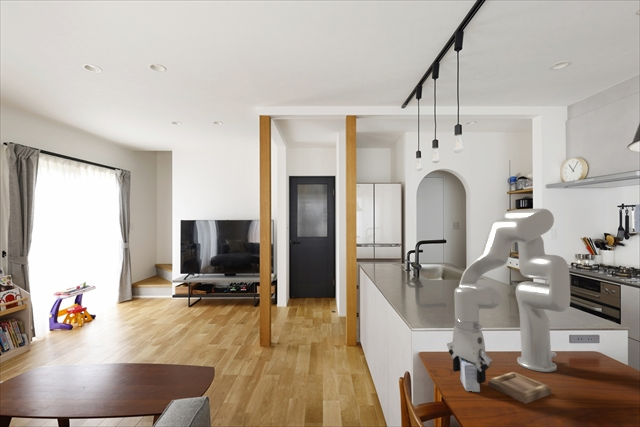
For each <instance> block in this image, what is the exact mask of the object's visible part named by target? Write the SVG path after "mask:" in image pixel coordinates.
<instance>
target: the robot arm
mask: <svg viewBox="0 0 640 427" xmlns="http://www.w3.org/2000/svg"><path fill="white" fill-rule="evenodd" d="M554 222H555V218H554V215H553V213H552V212H551V210H549V209H546V208H528V209H527V208H525V209H521V208H520V209H513V210H508V211H506V212H505V213H504V214H503V215H502V219H501V218H500V219H496V220H494V221H493V222H492V223H491V224H490V227H489V231H488V234H487V236H486V239H485V242H484V246H483V248H482V252H481V254H480V255H479V257H478V258H476V259H475V260H474V261H472V262H471V264H470V265H468V266H467V268H465V270H464V271H463V273H462V275H461V279H460V281H459V284H458V285H459V286H457V287H456V288H455V289H454V293H453V295H454V296H453V297H454V299H453V300H454V326H453V333H452V341H451V342H447V343H446V346H447V348H448V349H447V350H448V352H449V354H450V357H451V360H452V371H453V372H454V373H456V372H460V357H461V358H463V359H465V360H468V361H470V362H473V363H475V365H476V366H477V368H478V370H477V383H479V384H480V385H481V384H483V383H485V382H486V380H487V379H486V378H487V377H486V374H487V373H486V372H487V370H489V368H491V365H492V363H493V359H492V358H491V357H490V356H489V355H488V354H487V352H486V344H485V338H484V334H483V330H482V328H483V326H482V325H481V324H480V310H493V309H496V308H497V307H499V306H500V304H502V295H501V293H500V291H499V290H498V289H496V288H495V287H492V286H487V285H482V284H478V281H479V279H480V278H481V277H483V275H485V274H486V273H488V272H490V271H494V270H495V269H499V268H501V267H503V266H505V265H506V264H507V263H508V260H509V258H510V257H509V256H510V253H511V250H512V247H513V244H514V243H517V248H518V250H517V251H518V268H519V273H520V274H521V275H522V276H523V277H525V278H529V279H534V280H535V279H536V280H541V281H547V282H548V283H546V282H545V283H544V282H539V281H530V280H529V281H522V282H519V283H518V284H517V286H516V287H515V297H516V301H517V306H518V312H519V313H518V314H519V328H520V330H519V331H520V349H521V351H520V353H521V356H518V357H517V358H516V360H517V361H516V362H517V363H518V364H519V366H521V367H523V368H525V369H528V370H532V371H537V372H543V373H544V372H545V373H549V372H550V373H552V372H555V371H557V370H558V368H557V364H556V363H555V362H553V360H552V359H553V358H556V357H557V352H555V351H552V350H551V347H552V346H551V329H550V325H551V324H550V319H549V315H548V313H547V312H546V311H551V312H556V313H564V312H566V311H567V310H568V309H569V308H570V305H571V279H570V268H569V265H568V263H567V260H566V259H565V258H564V257H562V256H560V255H557V254H556V255H555V254H546V253H545V245H544V244H545V242H544V239H543V237H542V236H543V235H545V234H546V233H548V232H549V231H550V230H551V229H552V227H553V226H554ZM545 310H546V311H545Z"/></svg>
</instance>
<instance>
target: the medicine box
mask: <svg viewBox="0 0 640 427" xmlns="http://www.w3.org/2000/svg"><path fill="white" fill-rule="evenodd" d="M459 358H460V371H459V373H460V374H459V375H460V376H459V377H460V381H461V384H462V386H463V388H464V389H465V391H466V392H469V391H472V392H471V393H474V392H475V393H480V392H481V388H480V386H481V383H480V384H479V383H477V370H478V368H477V366H476V365H475V363H473V362H470V361H468V360H465V359H463V358H461V357H459Z"/></svg>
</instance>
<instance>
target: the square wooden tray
mask: <svg viewBox="0 0 640 427" xmlns="http://www.w3.org/2000/svg"><path fill="white" fill-rule="evenodd" d="M487 386H488V387H489V386H490V387H489V388H491V387H492V388H491V389H493V388H494V389H493V390H495V389H496V391H497V390H499V391H498V392H500V391H501V392H500V393H502V392H503V393H502V394H504V393H505V394H504V395H506V394H507V395H506V396H508V395H509V397H510V396H511V397H510V398H512V397H513V398H512V399H514V398H515V399H514V400H516V399H517V401H518V402H521V403H522V404H528V403H531V402H534V401H536V400H540V399H541V398H544V397H548V396H549V395H552V388H550V387H549V385H548V384H545V383H542V382H540V381H538V380H535V379H532V378H530V377H527V376H526V375H523V374H520V373H518V372H515V371H511V372H508V373H505V374H502V375H499V376H495V377H492V378H490V380H489V381H487Z"/></svg>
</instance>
